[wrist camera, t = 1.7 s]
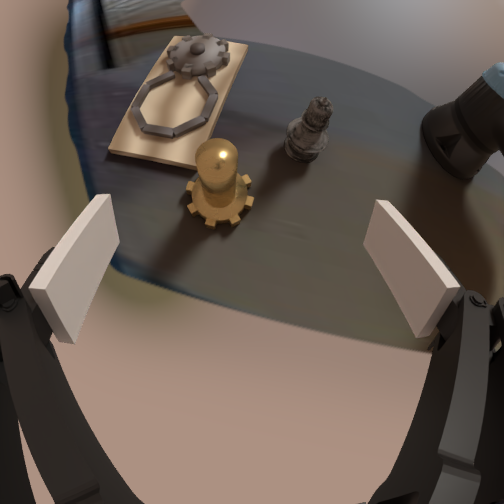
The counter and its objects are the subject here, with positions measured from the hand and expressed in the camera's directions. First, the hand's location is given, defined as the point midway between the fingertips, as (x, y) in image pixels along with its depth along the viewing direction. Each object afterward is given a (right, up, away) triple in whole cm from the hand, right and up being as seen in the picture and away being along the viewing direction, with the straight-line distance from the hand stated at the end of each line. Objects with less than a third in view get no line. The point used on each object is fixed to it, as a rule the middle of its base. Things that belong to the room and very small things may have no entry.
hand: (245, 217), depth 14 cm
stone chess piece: (+8, +14, +26) cm, 30 cm away
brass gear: (-4, +5, +24) cm, 25 cm away
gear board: (-10, +24, +26) cm, 37 cm away
